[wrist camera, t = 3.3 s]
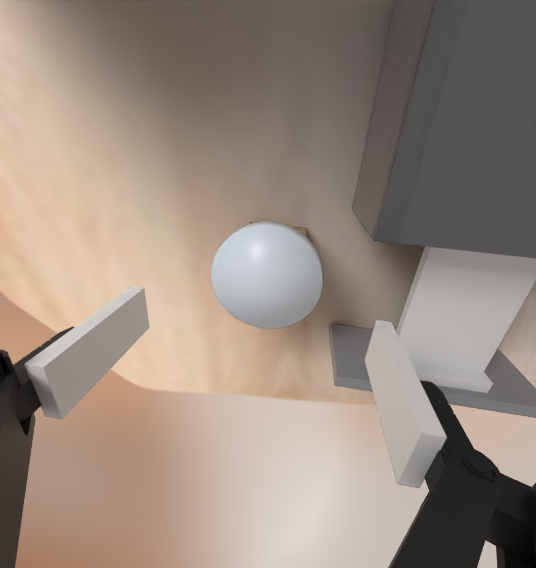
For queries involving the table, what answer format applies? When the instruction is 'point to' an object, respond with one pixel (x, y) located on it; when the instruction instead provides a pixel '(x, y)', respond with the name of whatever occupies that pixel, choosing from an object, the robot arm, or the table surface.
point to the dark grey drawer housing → (454, 129)
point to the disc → (267, 275)
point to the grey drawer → (454, 330)
